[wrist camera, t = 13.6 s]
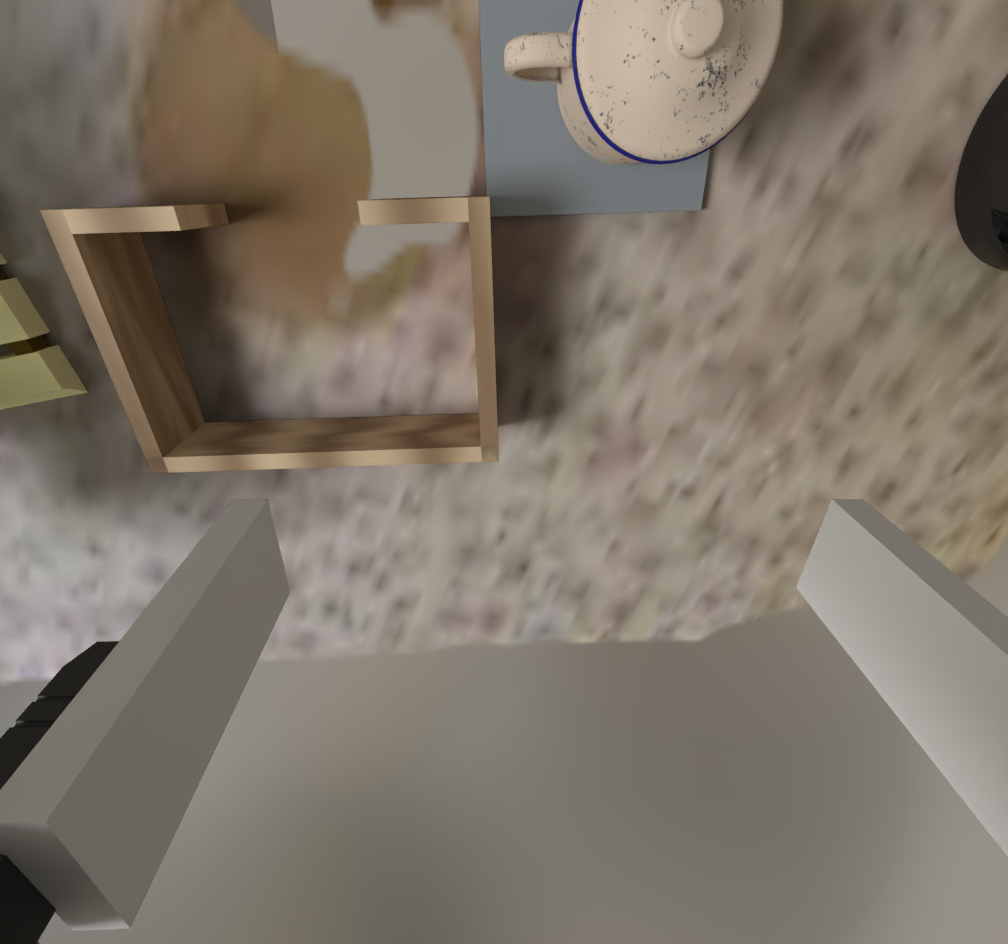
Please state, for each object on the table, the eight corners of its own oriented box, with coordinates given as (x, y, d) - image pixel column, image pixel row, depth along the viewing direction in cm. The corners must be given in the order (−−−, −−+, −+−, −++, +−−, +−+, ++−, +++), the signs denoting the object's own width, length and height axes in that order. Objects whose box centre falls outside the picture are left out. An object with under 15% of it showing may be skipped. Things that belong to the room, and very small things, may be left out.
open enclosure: (489, 195, 33) (489, 196, 28) (497, 426, 41) (498, 461, 36) (112, 206, 33) (40, 210, 27) (195, 436, 41) (151, 473, 35)
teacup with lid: (723, -25, 27) (860, -151, 17) (691, 170, 32) (786, 161, 22) (502, -29, 27) (509, -159, 17) (501, 169, 32) (507, 160, 21)
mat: (740, -89, 27) (746, -95, 26) (697, 210, 33) (701, 210, 33) (476, -82, 26) (475, -88, 26) (487, 216, 33) (487, 216, 33)
